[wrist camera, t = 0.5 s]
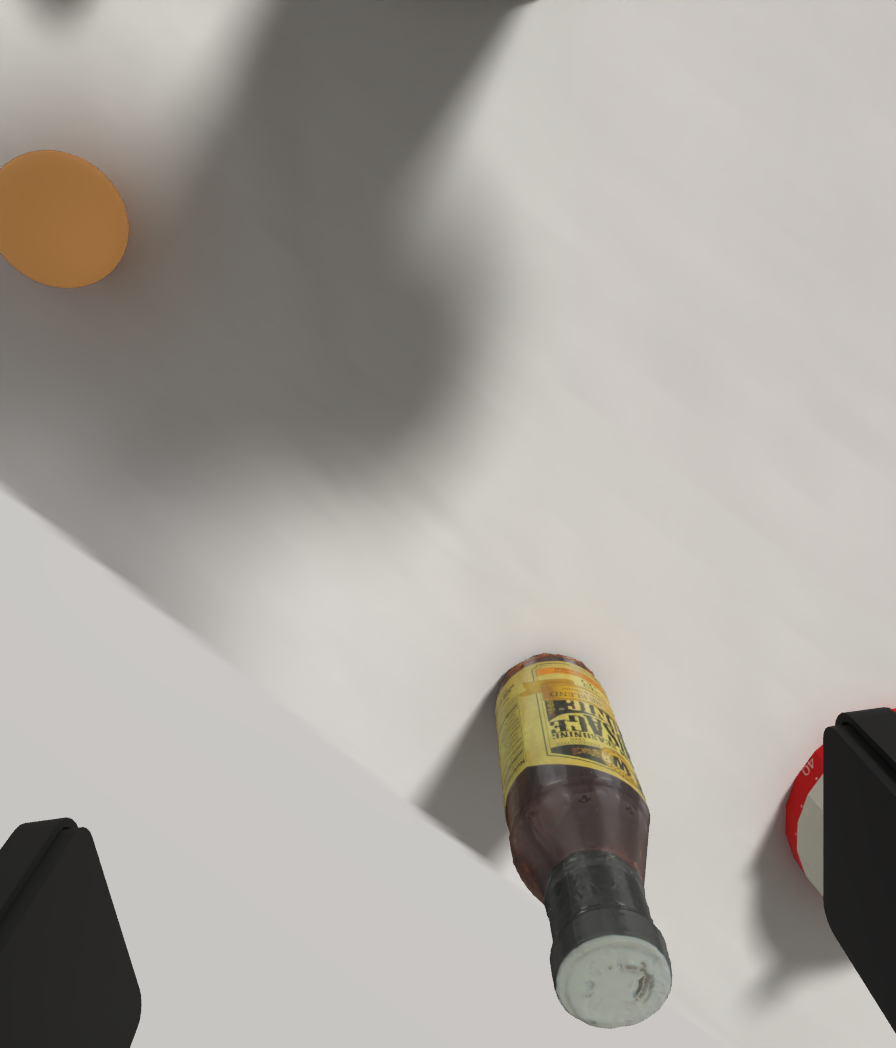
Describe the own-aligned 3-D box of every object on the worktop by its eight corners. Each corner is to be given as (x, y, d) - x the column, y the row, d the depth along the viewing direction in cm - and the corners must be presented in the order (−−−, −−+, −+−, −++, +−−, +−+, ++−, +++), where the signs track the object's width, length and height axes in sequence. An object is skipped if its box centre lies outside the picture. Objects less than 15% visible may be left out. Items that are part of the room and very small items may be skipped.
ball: (10, 164, 37) (-60, 148, 32) (132, 152, 37) (83, 134, 32) (40, 291, 39) (-21, 296, 34) (157, 280, 39) (114, 283, 34)
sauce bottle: (623, 686, 46) (761, 979, 27) (552, 762, 48) (636, 1090, 29) (536, 621, 45) (618, 883, 26) (464, 701, 46) (493, 1004, 27)
